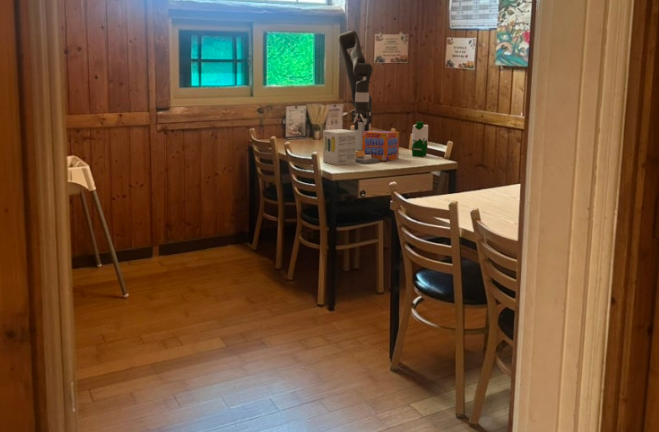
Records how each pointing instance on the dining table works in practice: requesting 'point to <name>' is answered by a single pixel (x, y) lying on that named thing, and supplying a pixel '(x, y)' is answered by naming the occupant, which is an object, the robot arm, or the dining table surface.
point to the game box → (381, 144)
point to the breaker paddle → (360, 154)
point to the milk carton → (419, 140)
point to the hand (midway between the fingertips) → (361, 130)
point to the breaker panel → (366, 159)
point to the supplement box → (339, 146)
